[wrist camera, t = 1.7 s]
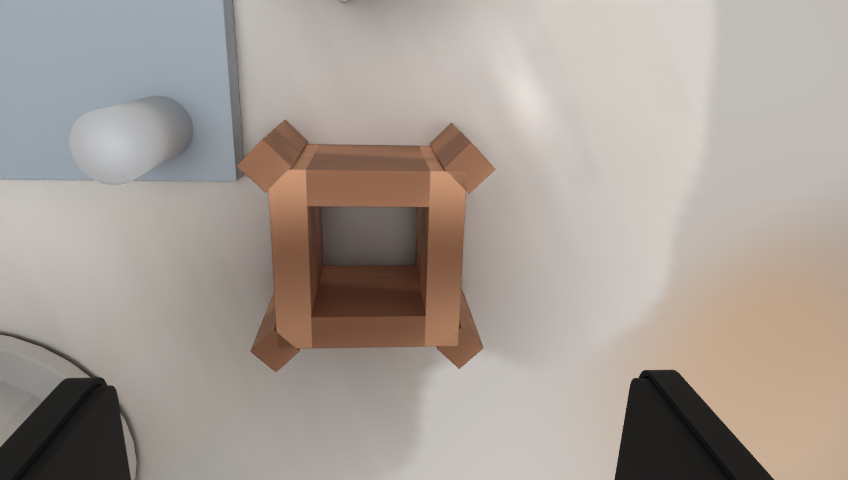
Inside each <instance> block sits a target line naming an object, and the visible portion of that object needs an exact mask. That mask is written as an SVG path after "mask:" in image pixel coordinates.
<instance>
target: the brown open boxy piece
mask: <svg viewBox="0 0 848 480" xmlns="http://www.w3.org/2000/svg"><path fill="white" fill-rule="evenodd" d="M430 144H431V146H391V145H323V144H307V141H306V140H305V139H304V138H303V137H302V136H301V135H300V134H299V133H298V132H297V131H296V130H295V129H294V128H293V127H292V126H291V125H290V124H289V123H288V122H287V121H286V120H284V121H283V122H282V123H281V124H280V125H279V126H277V127H276V128H275V129H274V130H273V131H272V132H271V133H269V134H268V135H267V136H266V137H265V138H264V139H262V141H261V142H260V143H259V144H258V145H257V146H256V147H255V148H254V149H253V150H252V151H251V152H250V153H249V154H248V155H247V156H246V157H245V158H244V159H243V160H242V161H241V162H240V163H239V164H238V165H237V167H238V168H239V169H240V170H242V171H243V172H244V173H245V174H246V175H247V176H248V177H249V178H250V179H251V180H253V181H254V182H255V183H256V184H257V185H258V186H259V187H260V188H261V189H262V190H263V191H265V192H267V191H268V190H269V205H270V223H271V240H272V258H273V275H274V294H273V296H272V299H271V301H270V304H269V306H268V309H267V311H266V314H265V316H264V319H263V321H262V324H261V326H260V329H259V331H258V334H257V336H256V339H255V341H254V344H253V346H252V349H251V351H250V352H251V353H253V354H254V355H255V356H256V357H258V358H259V359H260V360H261V361H263V362H264V363H265V364H266V365H268V366H269V367H270V368H271V369H273V370H274V371H275V372H277V371H278V370H279V369H280V368H282V367H283V366H284V365H285V364H286V363H287V362H288V361H289V360H290V359H291V358H292V357H293V356H294V355H296V354H297V353H298V352H299V350H300V348H359V347H423V346H437V349H438V350H439V351H440V352H441V353H442V354H443V355H445V356H446V357H447V358H448V359H449V360H450V361H451V362H452V363H453V364H454V365H456V366H457V367H458V368H459V369H460V368H461V367H462V366H463V365H464V364H465V363H467V362H468V361H469V360H470V359H471V358H473V357H474V356H475V355H476V354H477V353H478V352H479V351H481V350H482V349H483V345H482V342H481V340H480V337H479V334H478V331H477V329H476V326H475V323H474V320H473V318H472V315H471V312H470V310H469V307H468V304H467V301H466V299H465V296H464V293H463V292H462V291H461V275H462V256H463V237H464V218H465V199H466V192H467V193H468V194H469V193H470V192H471V191H472V190H474V189H475V188H476V187H477V186H478V185H479V184H480V183H481V182H482V181H483V180H484V179H485V178H486V177H488V176H489V175H490V174H491V173H492V172H493V171H494V170H495V168H494V167H493V166H492V164H491V163H490V162H489V161H488V160H487V159H486V158H485V157H484V156H483V155H482V154H481V152H480V151H479V150H478V149H477V148H476V147H475V146H474V145H473V144H472V143H471V142H470V141H469V140H468V139H467V138H466V137H465V136H464V135H463V134H462V133H461V132H460V131H459V130H458V129H457V128H456V127H455V126H454V125H453V124H452V123H451V124H450V125H449V126H448V127H447V128H446V129H445V130H444V131H443V132H442V133H441V134H440V135H439V136H437V137H436V138H435V139H434V140H433V141H432V142H431V143H430ZM321 206H356V207H417V241H416V266H323V257H322V222H321Z"/></svg>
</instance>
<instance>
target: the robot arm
mask: <svg viewBox="0 0 848 480" xmlns="http://www.w3.org/2000/svg"><path fill="white" fill-rule="evenodd" d="M136 466H137V461H136V455H135V448H134V442H133V439H132V436H131V434H130V431H129V429H128V426H127V424H126V421H125V419H124V417H123V416H122V414H121V413H120V408H119V402H118V396H117V392H116V389H115V387H114V386H107V384H106V382H105V380H104V379H103V378H101V377H97V378H91V377H89V376H88V375H87V374H85V373H84V372H83V371H81V370H80V369H79V368H77V367H76V366H75V365H73V364H72V363H71V362H69V361H68V360H66V359H64V358H62V357H60V356H58V355H56V354H54V353H52V352H50V351H48V350H47V349H45V348H43V347H40V346H37V345H34V344H31V343H28V342H26V341H23V340H20V339H17V338H14V337H9V336H4V335H0V480H135V477H136ZM615 480H774V479H773V478H772V477H771V476H770V475H769V473H768V472H767V471H766V470H765V469H764V468H763V467H762V466H761V464H760V463H759V462H758V461H757V460H756V459H755V458H754V457H753V455H752V454H751V453H750V452H749V451H748V450H747V449H746V448H745V447H744V446H743V444H742V443H741V442H740V441H739V440H738V439H737V438H736V436H735V435H734V434H733V433H732V432H731V431H730V430H729V429H728V428H727V426H726V425H725V424H724V423H723V422H722V421H721V420H720V419H719V418H718V417H717V415H716V414H715V413H714V412H713V411H712V410H711V409H710V407H709V406H708V405H707V404H706V403H705V402H704V401H703V400H702V399H701V397H700V396H699V395H698V394H697V393H696V392H695V391H694V389H693V388H692V387H691V386H690V385H689V384H688V383H687V382H686V381H685V380H684V378H683V377H682V376H681V375H680V374H679V373H678V372H677V371H675V370H644V371H642V373H641V374H640V376H639V378H634V379H633V380H632V382H631V384H630V389H629V396H628V402H627V408H626V414H625V420H624V426H623V432H622V439H621V444H620V450H619V457H618V462H617V468H616V474H615Z"/></svg>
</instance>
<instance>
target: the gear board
mask: <svg viewBox="0 0 848 480" xmlns="http://www.w3.org/2000/svg"><path fill="white" fill-rule="evenodd" d="M243 159H244V156H243V142H242V128H241V113H240V99H239V85H238V70H237V56H236V42H235V27H234V13H233V0H0V179H17V180H96V181H98V182H101V183H105V184H111V185H119V184H125V183H128V182H130V181H237V180H238V179H239V178H240V177H241V176H242V175H243V174H244V172H243V171H242V170H240V169H239V168H238V167H237V165H238V164H239V163H240V162H241V161H242V160H243Z"/></svg>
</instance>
